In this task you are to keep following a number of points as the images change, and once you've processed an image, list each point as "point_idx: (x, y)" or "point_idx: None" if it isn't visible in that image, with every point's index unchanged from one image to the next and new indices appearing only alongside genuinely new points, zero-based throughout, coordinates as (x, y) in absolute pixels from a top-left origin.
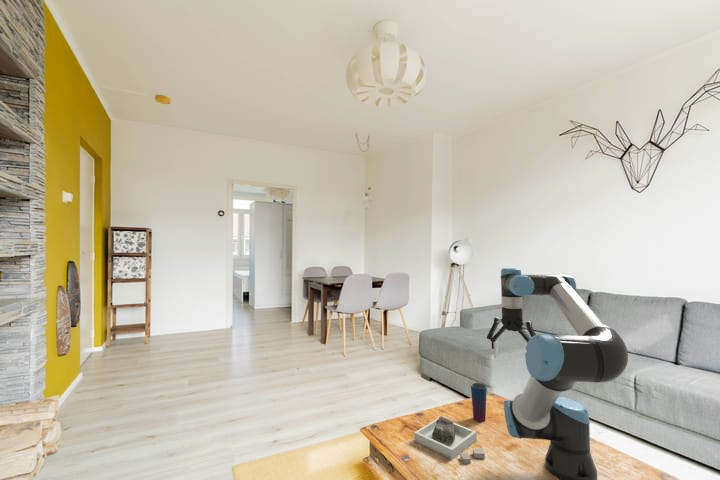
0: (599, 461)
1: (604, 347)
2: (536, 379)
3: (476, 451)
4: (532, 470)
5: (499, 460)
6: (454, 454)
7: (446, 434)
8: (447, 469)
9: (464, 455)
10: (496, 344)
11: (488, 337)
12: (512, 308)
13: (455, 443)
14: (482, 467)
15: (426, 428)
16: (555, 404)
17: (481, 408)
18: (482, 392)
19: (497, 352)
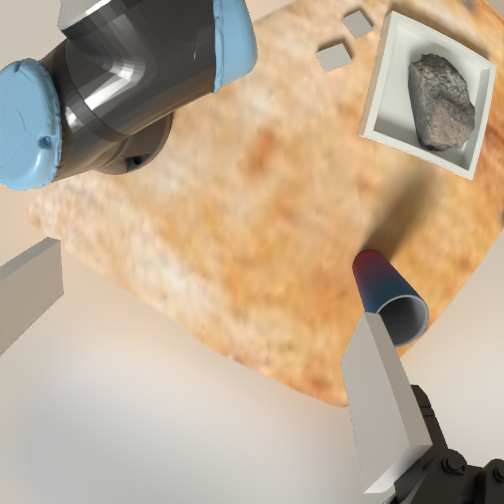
0: (80, 202)
1: None
2: None
3: (339, 52)
4: None
5: (278, 65)
6: (385, 23)
7: (430, 63)
8: None
9: (362, 26)
10: (384, 436)
11: (499, 476)
12: None
13: (402, 82)
14: (310, 17)
15: (482, 104)
16: (32, 65)
17: (371, 267)
18: (381, 294)
19: (356, 378)
